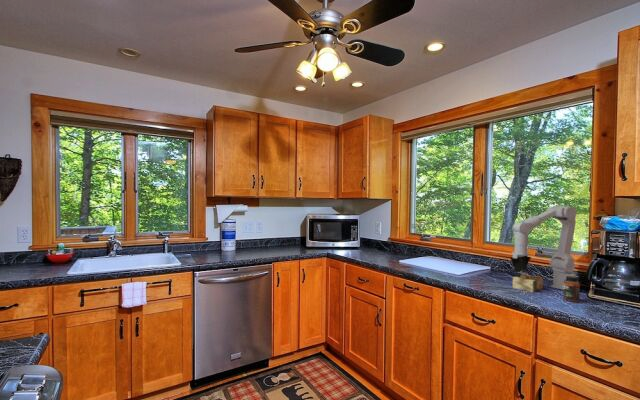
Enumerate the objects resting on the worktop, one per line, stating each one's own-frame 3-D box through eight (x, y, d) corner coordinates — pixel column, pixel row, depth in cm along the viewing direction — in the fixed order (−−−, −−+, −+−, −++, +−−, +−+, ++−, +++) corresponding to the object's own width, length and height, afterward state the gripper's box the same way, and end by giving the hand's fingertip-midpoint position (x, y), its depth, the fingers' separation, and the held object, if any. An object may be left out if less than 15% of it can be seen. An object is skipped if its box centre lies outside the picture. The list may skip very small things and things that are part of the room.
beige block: (536, 291, 158) (536, 280, 158) (534, 292, 157) (534, 281, 157) (515, 286, 167) (515, 276, 167) (512, 287, 165) (512, 277, 165)
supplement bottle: (579, 300, 145) (580, 276, 145) (579, 303, 141) (579, 278, 141) (563, 297, 149) (564, 274, 149) (562, 300, 145) (563, 276, 145)
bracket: (542, 288, 165) (542, 275, 165) (539, 289, 162) (539, 276, 162) (523, 284, 172) (523, 272, 172) (520, 285, 169) (520, 273, 169)
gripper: (518, 243, 171) (517, 267, 171) (506, 245, 162) (506, 270, 162) (533, 244, 165) (532, 270, 165) (521, 246, 156) (521, 273, 156)
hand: (520, 270), depth 163 cm, fingers open, 7 cm apart
